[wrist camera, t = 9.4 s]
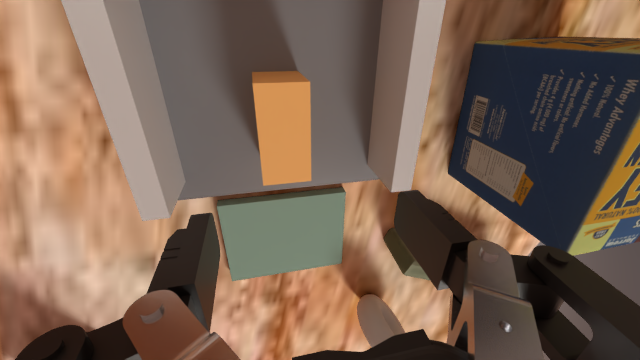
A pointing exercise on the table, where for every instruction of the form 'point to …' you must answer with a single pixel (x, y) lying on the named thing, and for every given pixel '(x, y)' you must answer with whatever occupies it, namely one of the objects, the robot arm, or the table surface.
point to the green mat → (282, 232)
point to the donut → (377, 319)
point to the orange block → (283, 126)
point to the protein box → (555, 137)
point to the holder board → (237, 89)
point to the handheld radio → (403, 256)
